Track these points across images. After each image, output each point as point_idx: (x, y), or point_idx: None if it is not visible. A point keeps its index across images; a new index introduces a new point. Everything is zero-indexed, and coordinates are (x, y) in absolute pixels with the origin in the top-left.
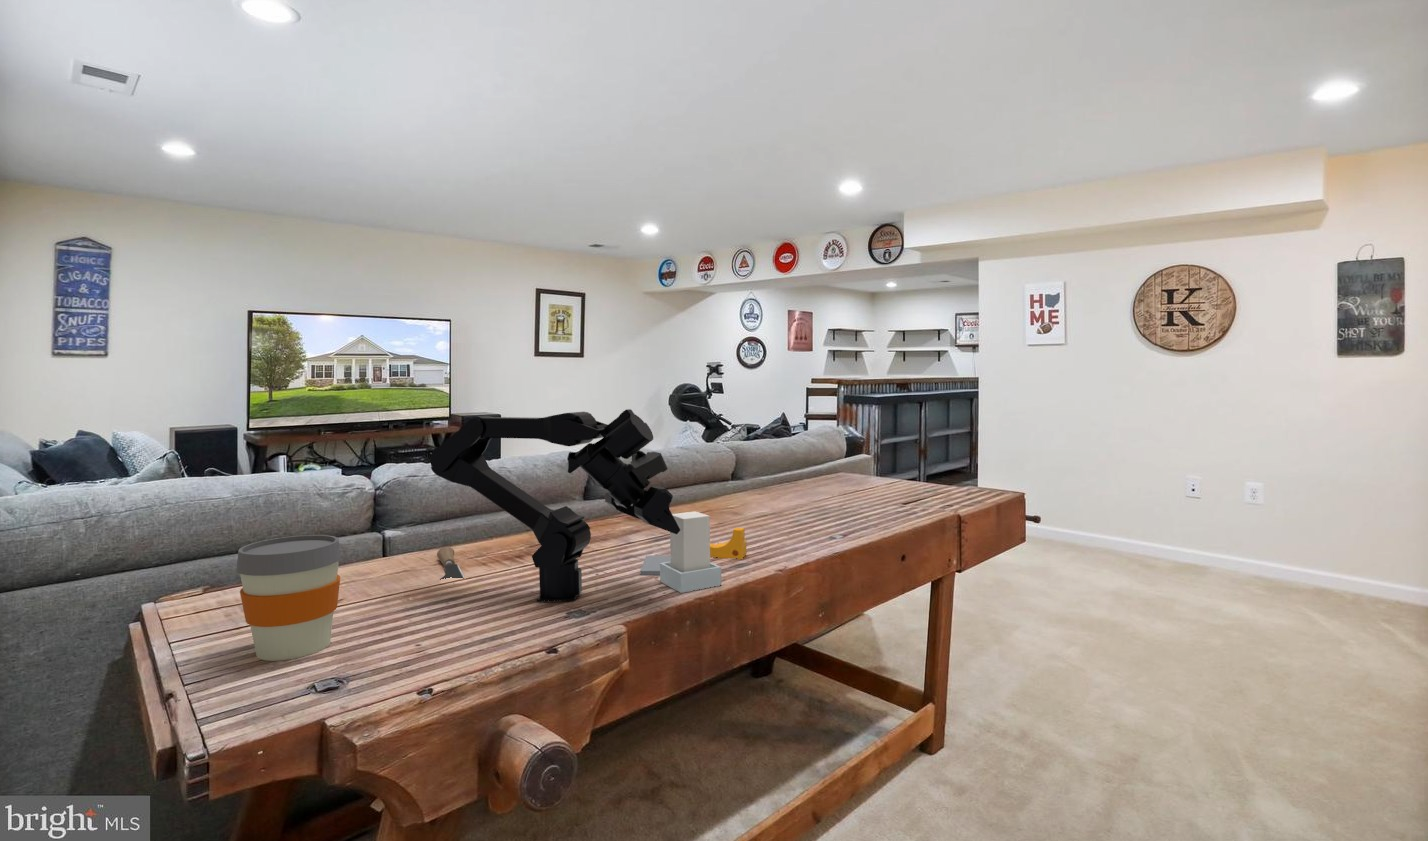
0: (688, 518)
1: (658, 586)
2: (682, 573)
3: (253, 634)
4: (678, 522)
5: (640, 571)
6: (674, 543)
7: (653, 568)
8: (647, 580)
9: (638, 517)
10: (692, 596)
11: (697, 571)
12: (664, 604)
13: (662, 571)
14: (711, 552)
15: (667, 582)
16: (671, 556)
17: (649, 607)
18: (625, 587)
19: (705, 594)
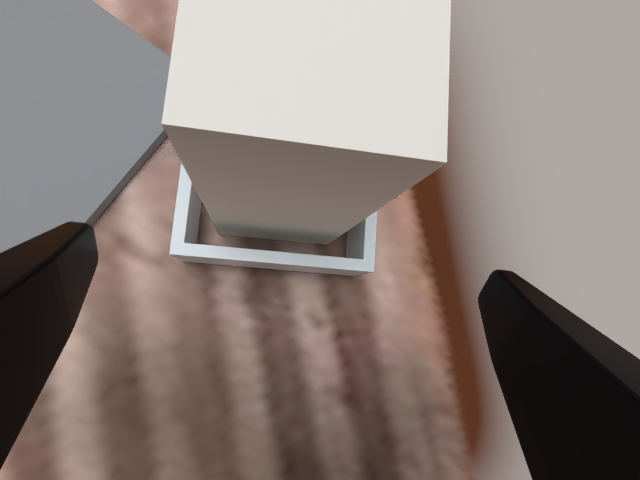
0: (447, 114)
1: (235, 299)
2: (373, 262)
3: None
4: (336, 164)
5: None
6: (257, 202)
7: (40, 212)
8: (135, 294)
9: (3, 454)
10: (403, 263)
11: None
12: (421, 383)
13: (201, 259)
14: None
15: (249, 266)
16: (220, 214)
17: (420, 442)
18: (162, 414)
19: (409, 217)
